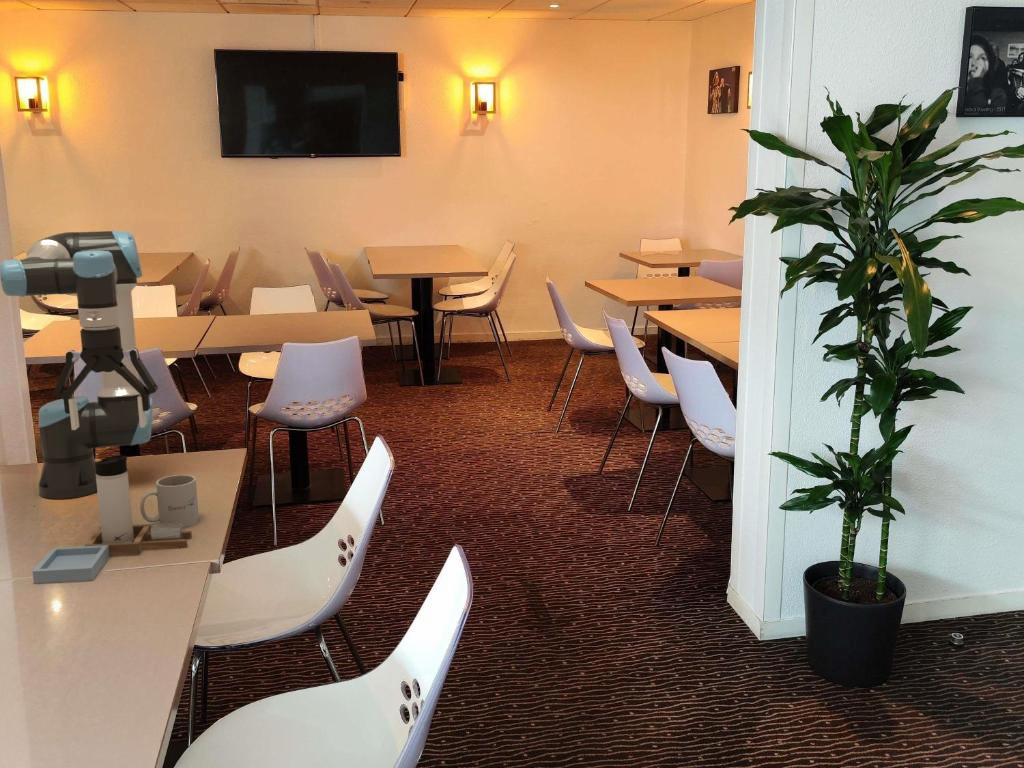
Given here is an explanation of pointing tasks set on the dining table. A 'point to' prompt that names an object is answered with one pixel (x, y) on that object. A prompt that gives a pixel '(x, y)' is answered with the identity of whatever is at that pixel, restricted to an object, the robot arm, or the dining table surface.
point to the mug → (174, 500)
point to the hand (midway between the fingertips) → (109, 427)
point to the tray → (71, 564)
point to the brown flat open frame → (138, 542)
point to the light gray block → (167, 531)
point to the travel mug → (114, 500)
